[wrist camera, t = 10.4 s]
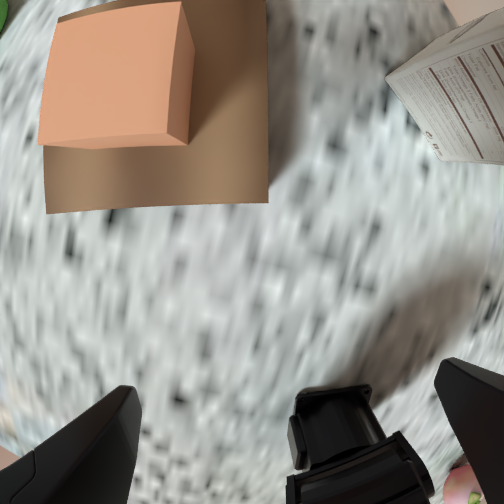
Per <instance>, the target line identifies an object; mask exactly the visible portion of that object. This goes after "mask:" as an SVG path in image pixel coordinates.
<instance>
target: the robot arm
mask: <svg viewBox="0 0 504 504" xmlns="http://www.w3.org/2000/svg"><path fill="white" fill-rule="evenodd" d="M434 386H435V389H436V391H437V394H438V396H439V399H440V401H441V403H442V406H443V408H444V411H445V413H446V416H447V418H448V421H449V423H450V425H451V427H452V429H453V431H454V433H455V435H456V437H457V439H458V441H459V443H460V445H461V447H462V449H463V451H464V453H465V455H466V457H467V459H468V461H469V463H470V466H471V468H472V470H473V472H474V474H475V476H476V479H477V481H478V483H479V485H480V488H481V490H482V492H483V495H484V497H485V499H486V502H487V504H504V376H503V375H501V374H498V373H495V372H492V371H490V370H487V369H484V368H481V367H479V366H476V365H473V364H471V363H468V362H465V361H463V360H460V359H457V358H454V357H451V358H447V359H444V360H442V362H441V363H440V366H439V369H438V371H437V374H436V377H435V380H434ZM371 393H372V388H371V387H370V385H362V386H356V387H350V388H343V389H336V390H329V391H321V392H313V393H304V394H299V395H297V396H296V398H295V406H294V415H291V417H290V418H289V425H288V434H287V436H288V441H289V445H290V450H291V455H292V459H293V464H294V468H295V469H296V470H302V471H303V473H300V474H297V475H294V474H293V475H290V476H287V485H286V504H430V502H429V498H431V497H433V496H434V494H435V490H434V486H433V482H432V479H431V477H430V475H429V472H428V470H427V468H426V466H425V465H424V463H423V461H422V460H421V458H420V457H419V456H418V454H417V453H416V452H415V450H414V449H413V448H412V446H411V445H410V444H409V443H408V441H407V440H406V439H405V437H404V436H403V435H402V433H401V432H400V431H397V432H395V433H393V435H391V436H389V437H388V438H387V437H386V435H385V433H384V431H383V429H382V428H381V426H380V424H379V422H378V420H377V418H376V416H375V415H374V413H373V411H372V409H371V407H370V405H369V404H368V403H369V400H370V396H371ZM301 399H303V400H301ZM141 418H142V408H141V405H140V401H139V398H138V394H137V391H136V389H135V387H133V386H127V385H120V386H118V387H117V388H115V389H114V390H113V391H111V392H110V393H109V394H107V395H106V396H105V397H103V398H102V399H101V400H100V401H98V402H97V403H96V404H94V405H93V406H92V407H90V408H89V409H88V410H86V411H85V412H83V413H82V414H81V415H79V416H78V417H77V418H75V419H74V420H73V421H71V422H70V423H69V424H67V425H66V426H65V427H63V428H62V429H61V430H59V431H58V432H56V433H55V434H54V435H52V436H51V437H50V438H48V439H47V440H45V441H44V442H43V443H41V444H40V445H38V446H37V447H36V448H34V450H31V451H30V452H29V453H27V454H26V455H24V456H23V457H21V458H20V459H19V460H17V461H15V462H14V463H12V464H11V465H9V466H8V467H6V468H4V469H2V470H1V471H0V504H127V500H128V496H129V491H130V487H131V482H132V478H133V473H134V469H135V465H136V460H137V452H138V443H139V434H140V426H141Z"/></svg>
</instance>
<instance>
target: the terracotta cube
mask: <svg viewBox="0 0 504 504" xmlns="http://www.w3.org/2000/svg"><path fill="white" fill-rule="evenodd" d="M194 57H195V48H194V44H193V41H192V37H191V34H190V30H189V27H188V23H187V20H186V16H185V13H184V9H183V6H182V2H181V1H180V2H167V3H156V4H147V5H140V6H133V7H126V8H120V9H115V10H109V11H104V12H100V13H95V14H91V15H87V16H82V17H79V18H75V19H71V20H67V21H64V22H61V23H57V25H56V29H55V32H54V36H53V41H52V45H51V49H50V54H49V59H48V64H47V69H46V75H45V81H44V87H43V94H42V102H41V110H40V120H39V133H38V145H48V146H61V147H73V148H83V149H104V148H119V147H138V146H175V145H188V134H189V117H190V102H191V89H192V78H193V67H194Z"/></svg>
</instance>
